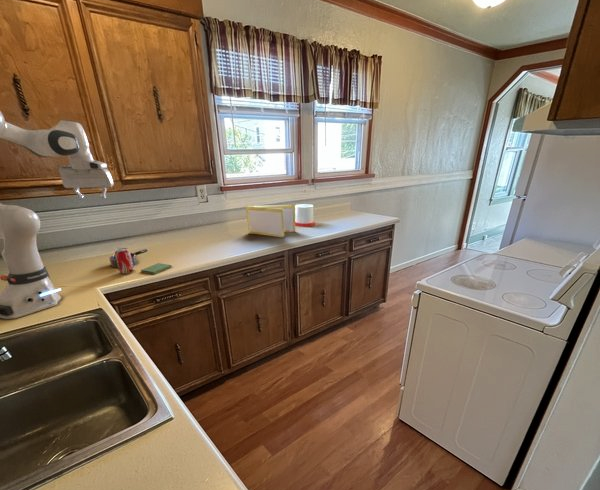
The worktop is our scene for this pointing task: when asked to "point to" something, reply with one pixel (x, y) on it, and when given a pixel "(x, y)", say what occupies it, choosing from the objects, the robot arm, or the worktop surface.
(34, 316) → the worktop surface
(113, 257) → the pan
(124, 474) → the worktop surface
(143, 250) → the pan handle
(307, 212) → the container
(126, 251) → the soda can
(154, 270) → the green flat block
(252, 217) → the white yellow panel stand
